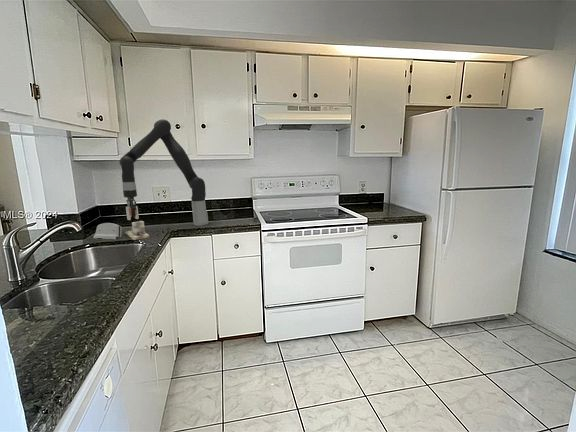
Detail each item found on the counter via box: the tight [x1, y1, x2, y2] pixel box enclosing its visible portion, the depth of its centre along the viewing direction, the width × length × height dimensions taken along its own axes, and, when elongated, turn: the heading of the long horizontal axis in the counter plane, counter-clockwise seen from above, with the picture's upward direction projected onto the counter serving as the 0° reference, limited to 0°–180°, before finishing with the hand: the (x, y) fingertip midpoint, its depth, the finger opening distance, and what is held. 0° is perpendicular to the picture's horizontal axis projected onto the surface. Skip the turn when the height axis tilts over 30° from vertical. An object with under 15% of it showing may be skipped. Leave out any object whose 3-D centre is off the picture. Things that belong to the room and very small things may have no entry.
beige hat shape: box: [124, 220, 150, 241], centre depth 197 cm, size 9×20×10 cm, turn 39°
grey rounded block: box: [92, 222, 123, 240], centre depth 195 cm, size 17×5×10 cm, turn 77°
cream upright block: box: [125, 205, 140, 221], centre depth 199 cm, size 6×4×8 cm, turn 129°
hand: (132, 216), depth 199 cm, fingers closed on cream upright block, 4 cm apart
